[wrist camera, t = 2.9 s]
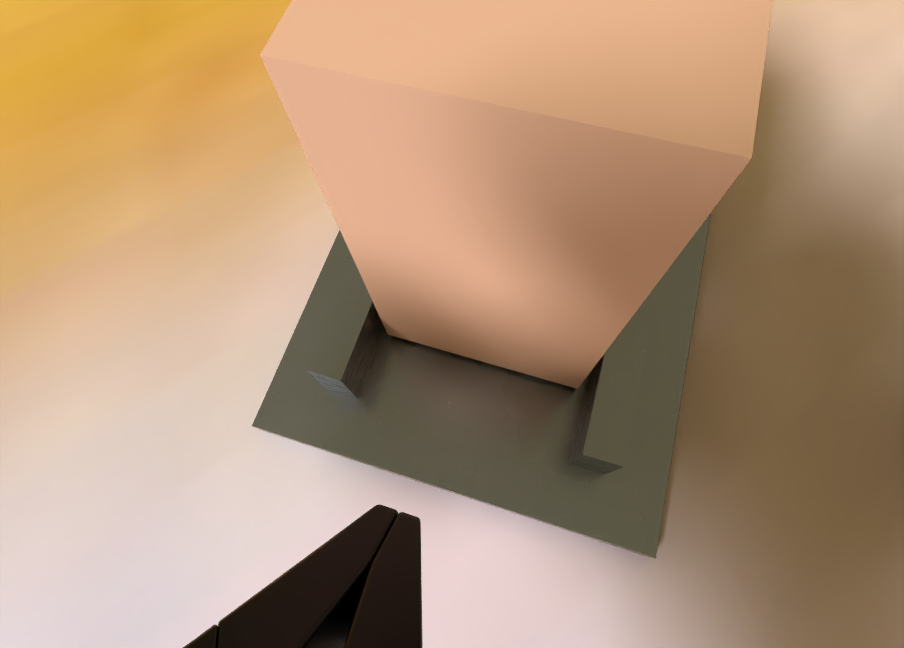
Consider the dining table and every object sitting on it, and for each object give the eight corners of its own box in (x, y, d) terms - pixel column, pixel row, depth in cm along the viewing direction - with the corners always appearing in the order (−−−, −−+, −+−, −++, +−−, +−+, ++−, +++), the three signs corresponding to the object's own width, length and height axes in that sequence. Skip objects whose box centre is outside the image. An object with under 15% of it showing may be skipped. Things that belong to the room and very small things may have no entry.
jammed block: (577, 388, 18) (751, 158, 7) (387, 334, 19) (259, 55, 8) (616, 220, 20) (793, -159, 9) (445, 180, 21) (413, -206, 10)
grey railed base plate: (649, 556, 17) (685, 563, 14) (258, 428, 19) (220, 411, 16) (725, 94, 23) (759, 36, 20) (431, 37, 25) (426, -23, 23)
